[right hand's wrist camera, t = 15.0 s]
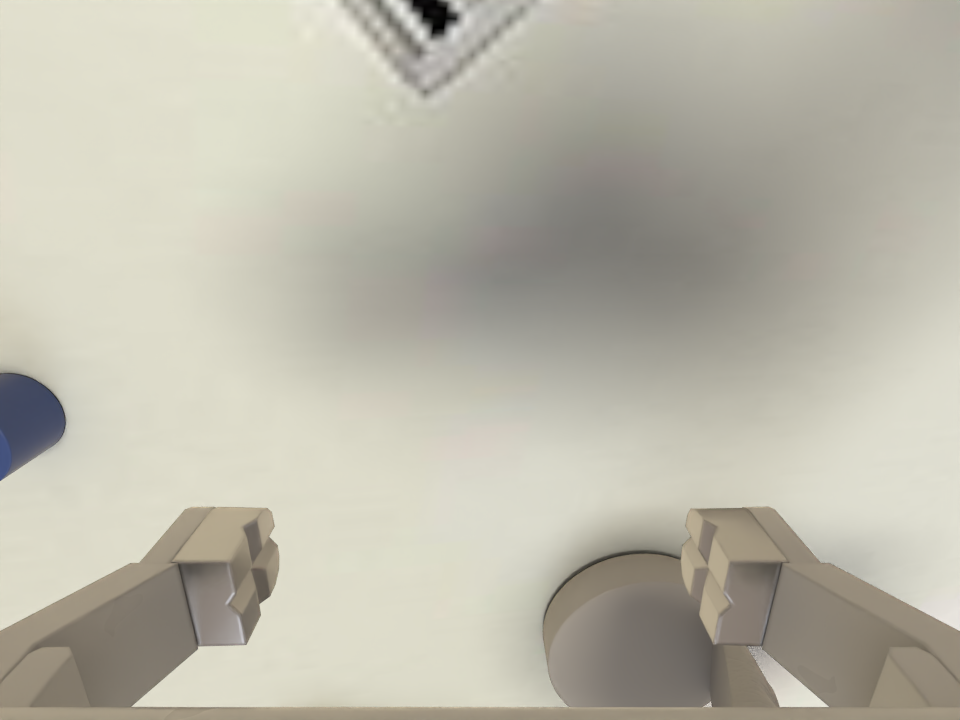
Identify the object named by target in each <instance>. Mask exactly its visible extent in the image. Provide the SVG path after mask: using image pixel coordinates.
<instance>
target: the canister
mask: <svg viewBox="0 0 960 720" xmlns="http://www.w3.org/2000/svg"><path fill="white" fill-rule="evenodd" d="M64 428H65V417H64V413H63V410H62V407H61V406H60V404H59V402H58V400H57V399H56V398H55V396H54V395H53V394H52V393H51V392H50V391H49V390H48V389H47V388H46V387H44V386H43V385H42V384H40V383H38V382H37V381H35V380H33V379H31V378H28V377H25V376H22V375H17V374H0V481H1V480H2V479H4V478H5V477H7V476H8V475H10V474H11V473H13V472H14V471H16V470H17V469H19V468H20V467H22V466H23V465H25V464H26V463H28V462H29V461H31V460H32V459H34V458H35V457H37V456H38V455H40V454H41V453H43V452H44V451H46V450H47V449H49V448H50V447H52V446H53V445H54V444H56V443H57V442H58V441H59V439H60V438H61V436H62V434H63V432H64Z"/></svg>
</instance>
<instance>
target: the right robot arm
mask: <svg viewBox="0 0 960 720" xmlns="http://www.w3.org/2000/svg"><path fill="white" fill-rule="evenodd" d="M274 527H275V525H274V520H273V515H272V512H271V511H270V510H269V509H268V508H244V507H217V508H216V507H191V508H188V509H185V510H184V511H183V513H182V514H181V515H180V516H179V517H178V518H177V519H176V521H175V522H174V523H173V524H172V525H171V526H170V528H169V529H168V530H167V531H166V532H165V533H164V535H163V536H162V537H161V538H160V539H159V540H158V542H157V543H156V544H155V545H154V546H153V547H152V549H151V550H150V551H149V552H148V553H147V554H146V556H145V557H144V558H143V559H142V560H141V561H140V563H130V564H128V565H126V566H124V567H122V568H120V569H118V570H116V571H115V572H113V573H111V574H109V575H107V576H105V577H103V578H101V579H99V580H97V581H95V582H93V583H92V584H90V585H88V586H86V587H84V588H82V589H80V590H78V591H76V592H74V593H72V594H70V595H68V596H67V597H65V598H63V599H61V600H59V601H57V602H55V603H53V604H51V605H49V606H47V607H45V608H44V609H42V610H40V611H38V612H36V613H34V614H32V615H30V616H28V617H26V618H24V619H22V620H21V621H19V622H17V623H15V624H13V625H11V626H9V627H7V628H5V629H3V630H1V631H0V720H960V631H958V630H956V629H954V628H953V627H951V626H949V625H947V624H945V623H943V622H941V621H939V620H937V619H935V618H933V617H932V616H930V615H928V614H926V613H924V612H922V611H920V610H918V609H916V608H914V607H912V606H910V605H909V604H907V603H905V602H903V601H901V600H899V599H897V598H895V597H893V596H891V595H889V594H888V593H886V592H884V591H882V590H880V589H878V588H876V587H874V586H872V585H870V584H868V583H866V582H865V581H863V580H861V579H859V578H857V577H855V576H853V575H851V574H849V573H847V572H845V571H844V570H842V569H840V568H838V567H836V566H834V565H832V564H830V563H820V561H819V560H818V559H817V558H816V557H815V556H814V554H813V553H812V552H811V551H810V550H809V549H808V547H807V546H806V545H805V544H804V543H803V542H802V540H801V539H800V538H799V537H798V536H797V535H796V534H795V532H794V531H793V530H792V529H791V528H790V527H789V525H788V524H787V523H786V522H785V521H784V520H783V518H782V517H781V516H780V515H779V514H778V513H777V511H776V510H775V509H773V508H771V507H743V508H700V509H690V511H689V513H688V515H687V520H686V525H685V527H686V528H687V530H688V532H689V534H690V536H691V537H690V538H689V539H688V540H687V541H686V542H685V543H684V544H683V545H682V552H681V570H682V577H683V580H684V584H685V587H686V589H687V591H688V593H689V595H690V597H692V598H693V599H695V600H696V601H697V602H699V603H700V604H701V606H700V612H699V616H700V618H701V620H702V622H703V624H704V626H705V628H706V630H707V632H708V634H709V636H710V638H711V640H712V642H713V644H714V645H733V646H762V649H763V650H764V651H765V652H766V653H768V654H769V655H770V656H771V657H772V658H773V659H774V660H776V661H777V662H778V663H779V664H780V665H781V666H783V667H784V668H785V669H786V670H787V671H788V672H790V673H791V674H792V675H793V676H794V677H795V678H797V679H798V680H799V681H800V682H801V683H802V684H803V685H805V686H806V687H807V688H808V689H809V690H810V691H812V692H813V693H814V694H815V695H816V696H817V697H819V698H820V699H821V700H822V701H823V702H824V703H825V704H827V705H828V706H829V707H131V706H132V705H134V704H135V703H136V702H137V701H138V700H139V699H140V698H142V697H143V696H144V695H145V694H146V693H147V692H149V691H150V690H151V689H152V688H153V687H154V686H156V685H157V684H158V683H159V682H160V681H161V680H163V679H164V678H165V677H166V676H167V675H168V674H170V673H171V672H172V671H173V670H174V669H175V668H176V667H178V666H179V665H180V664H181V663H182V662H183V661H185V660H186V659H187V658H188V657H189V656H190V655H192V654H193V653H194V652H195V651H196V650H197V649H198V646H226V645H246V644H247V642H248V640H249V638H250V636H251V634H252V632H253V630H254V628H255V626H256V624H257V622H258V620H259V618H260V616H261V612H260V606H259V604H260V603H261V602H263V601H264V600H265V599H267V598H268V597H270V595H271V593H272V591H273V589H274V586H275V584H276V580H277V576H278V571H279V551H278V545H277V544H276V543H275V542H274V541H273V540H272V539H271V538H270V537H269V536H270V534H271V532H272V530H273V529H274Z"/></svg>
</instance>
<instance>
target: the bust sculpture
mask: <svg viewBox="0 0 960 720" xmlns="http://www.w3.org/2000/svg"><path fill="white" fill-rule="evenodd" d="M700 606H701V604H700V603H699V602H697V601H696V600H695V599H693V598H692V597H690V595H689V593H688V591H687V589H686V587H685V584H684V580H683V577H682V570H681V560H679V559H676V558H673V557H669V556H664V555H657V554H631V555H624V556H619V557H615V558H611V559H608V560H605V561H602V562H599V563H597V564H595V565H593V566H591V567H589V568H587V569H585V570H583V571H582V572H580V573H579V574H577V575H576V576H574V577H573V578H572V579H571V580H569V581H568V582H567V583H566V584H565V585H564V586H563V587H562V588H561V589H560V591H559V592H558V593H557V594H556V596H555V597H554V599H553V600H552V602H551V604H550V606H549V608H548V610H547V613H546V616H545V619H544V625H543V640H544V646H545V653H546V659H547V665H548V672H549V676H550V680H551V683H552V685H553V687H554V689H555V691H556V692H557V694H558V695H559V697H560V698H561V699H562V700H563V701H564V702H565V703H566V704H567V705H568V706H569V707H703V706H705V705H706V704H708V703H709V702H710V701H711V703H712V707H779V703H778V700H777V698H776V695H775V693H774V691H773V689H772V687H771V686H770V685H769V683H768V682H767V680H766V679H765V677H764V675H763V673H762V671H761V670H760V668H759V666H758V665H757V663H756V661H755V659H754V658H753V656H752V655H751V653H750V651H749V649H748V647H747V646H733V645H714V644H713V642H712V640H711V638H710V636H709V634H708V632H707V630H706V628H705V626H704V624H703V622H702V620H701V618H700V616H699V612H700Z"/></svg>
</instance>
